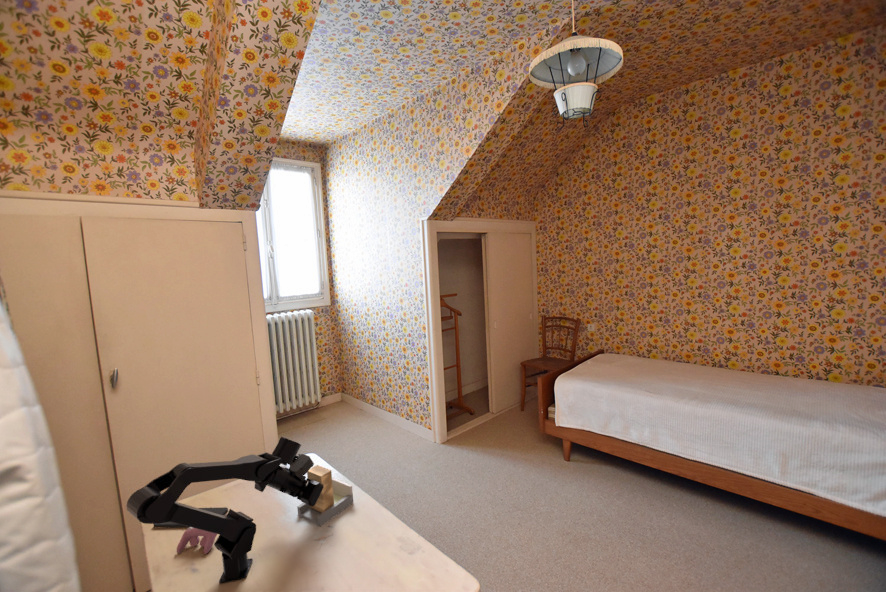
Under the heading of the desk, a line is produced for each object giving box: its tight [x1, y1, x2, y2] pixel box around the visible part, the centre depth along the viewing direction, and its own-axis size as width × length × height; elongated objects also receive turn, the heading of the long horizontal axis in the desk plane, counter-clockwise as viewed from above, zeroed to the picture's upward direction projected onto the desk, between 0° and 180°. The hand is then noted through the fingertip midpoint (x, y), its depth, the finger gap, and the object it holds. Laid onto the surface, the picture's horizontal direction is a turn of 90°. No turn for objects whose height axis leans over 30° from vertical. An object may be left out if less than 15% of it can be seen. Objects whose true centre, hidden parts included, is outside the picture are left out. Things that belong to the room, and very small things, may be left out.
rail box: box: [296, 477, 354, 528], centre depth 127 cm, size 14×11×6 cm
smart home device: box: [152, 506, 229, 529], centre depth 126 cm, size 8×2×20 cm
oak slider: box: [306, 464, 334, 513], centre depth 125 cm, size 4×7×12 cm, turn 56°
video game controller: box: [176, 527, 218, 555], centre depth 113 cm, size 10×5×7 cm, turn 85°
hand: (315, 493), depth 123 cm, fingers closed, pressing on oak slider
